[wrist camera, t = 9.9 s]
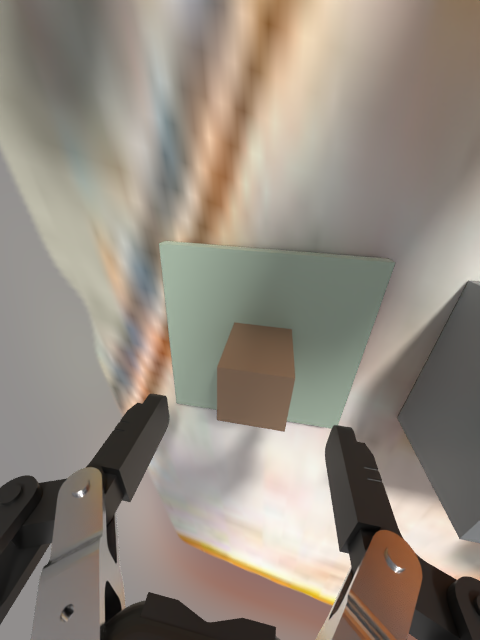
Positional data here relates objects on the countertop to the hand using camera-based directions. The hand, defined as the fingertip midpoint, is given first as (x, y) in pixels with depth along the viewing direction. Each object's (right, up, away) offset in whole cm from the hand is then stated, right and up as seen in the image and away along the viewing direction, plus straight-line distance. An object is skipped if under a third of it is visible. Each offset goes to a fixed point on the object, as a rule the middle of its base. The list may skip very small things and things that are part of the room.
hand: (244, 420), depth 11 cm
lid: (+1, +3, +7) cm, 8 cm away
